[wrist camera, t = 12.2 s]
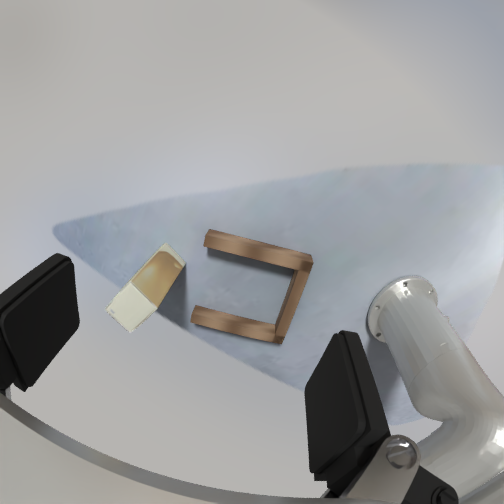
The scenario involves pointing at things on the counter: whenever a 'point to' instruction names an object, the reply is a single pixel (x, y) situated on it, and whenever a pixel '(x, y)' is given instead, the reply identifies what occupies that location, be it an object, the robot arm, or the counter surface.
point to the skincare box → (146, 289)
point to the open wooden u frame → (266, 254)
